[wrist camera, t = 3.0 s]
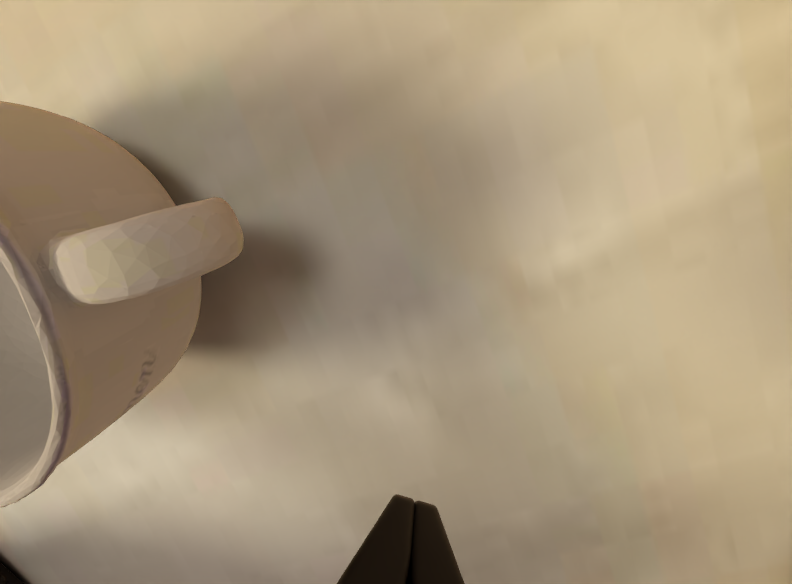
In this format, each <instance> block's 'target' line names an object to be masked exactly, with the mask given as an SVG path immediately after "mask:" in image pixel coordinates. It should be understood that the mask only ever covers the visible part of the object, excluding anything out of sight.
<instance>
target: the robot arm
mask: <svg viewBox="0 0 792 584" xmlns="http://www.w3.org/2000/svg"><path fill="white" fill-rule="evenodd" d="M0 584H24V583H23V582H22V581H21V580H19V579H18V578H17V577H16V576H15V575H14V574H13V573H11V572H10V571H9V570H8V569H7V568H6V567H5V566H3V565H2V564H1V563H0ZM337 584H464V581H463V579H462V576H461V573H460V570H459V568H458V565H457V562H456V559H455V556H454V554H453V551H452V548H451V545H450V543H449V540H448V537H447V534H446V532H445V529H444V526H443V523H442V521H441V518H440V515H439V512H438V510H437V508H436V507H435V506H434V505H431V504H428V503H425V502H421V501H416V502H415V503H414V500H413V499H411V498H408V497H404V496H401V495H394V496H393V497H392V499H391V500H390V502H389V504H388V505H387V507H386V508H385V510H384V511H383V513H382V514H381V516H380V517H379V519H378V521H377V522H376V524H375V525H374V527H373V528H372V530H371V531H370V533H369V535H368V536H367V538H366V539H365V541H364V542H363V544H362V545H361V547H360V548H359V550H358V552H357V553H356V555H355V556H354V558H353V559H352V561H351V562H350V564H349V565H348V567H347V569H346V570H345V572H344V573H343V575H342V576H341V578H340V579H339V581H338V583H337Z"/></svg>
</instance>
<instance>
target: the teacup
mask: <svg viewBox="0 0 792 584" xmlns="http://www.w3.org/2000/svg"><path fill="white" fill-rule="evenodd" d="M243 243H244V241H243V233H242V230H241V227H240V224H239V222H238V220H237V218H236V215H235V213H234V211H233V209H232V208H231V207H230V205H229V204H228V203H227V202H226V201H225V200H223V199H222V198H218V197H213V198H209V199H205V200H201V201H196V202H191V203H186V204H182V205H178V206H176V205H175V203H174V202H173V200H172V199H171V197H170V196H169V195H168V193H167V192H166V190H165V189H164V188H163V186H162V185H161V184H160V182H159V181H158V180H157V179H156V178H155V176H154V175H153V174H152V173H151V172H150V171H149V170H148V169H147V168H146V167H145V166H144V165H143V164H142V163H141V162H140V161H139V160H138V159H137V158H135V157H134V156H133V155H132V154H131V153H129V152H128V151H127V150H126V149H124V148H123V147H122V146H120V145H119V144H118V143H116V142H115V141H113V140H112V139H110V138H108V137H107V136H105V135H103V134H101V133H100V132H98V131H96V130H95V129H93V128H91V127H88V126H86V125H84V124H82V123H79V122H77V121H75V120H73V119H70V118H67V117H64V116H61V115H58V114H55V113H52V112H48V111H45V110H41V109H38V108H33V107H29V106H24V105H20V104H15V103H8V102H2V101H0V507H5V506H7V505H9V504H12V503H16V502H18V501H19V500H20V499H22V498H24V497H26V496H27V495H29V494H30V493H32V492H33V491H35V490H36V489H37V488H38V487H40V486H41V485H42V484H44V482H45V481H46V480H47V478H48V477H49V476H50V474H51V473H52V472H53V471H54V470H55V468H56V467H57V465H59V464H60V463H61V462H63V461H64V460H65V459H67V458H68V457H69V456H71V455H72V454H73V453H75V452H76V451H77V450H79V449H80V448H81V447H83V446H84V445H85V444H87V443H88V442H89V441H91V440H92V439H93V438H95V437H96V436H97V435H99V434H100V433H101V432H102V431H104V430H105V429H106V428H107V427H108V426H110V425H111V424H112V423H113V422H115V421H116V420H117V419H118V418H120V417H121V416H122V415H123V414H125V413H126V412H127V411H128V410H129V409H131V408H132V407H133V406H134V405H135V404H137V403H138V402H139V401H140V400H141V399H143V398H144V397H145V396H146V395H147V394H148V393H149V392H150V391H151V390H153V389H154V388H155V387H156V386H157V385H158V384H159V383H160V382H161V381H162V380H163V379H164V378H165V377H166V376H167V375H168V374H169V373H170V372H171V371H172V369H173V368H174V367H175V365H176V364H177V362H178V361H179V360H180V358H181V357H182V355H183V354H184V352H185V351H186V349H187V347H188V345H189V343H190V341H191V338H192V336H193V333H194V331H195V329H196V325H197V321H198V318H199V312H200V304H201V290H202V286H201V276H202V275H204V274H206V273H209V272H211V271H213V270H216V269H218V268H220V267H222V266H224V265H226V264H227V263H229V262H231V261H232V260H234V259H235V258H237V256H238V255H239V254H240V253H241V251H242V250H243Z"/></svg>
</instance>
